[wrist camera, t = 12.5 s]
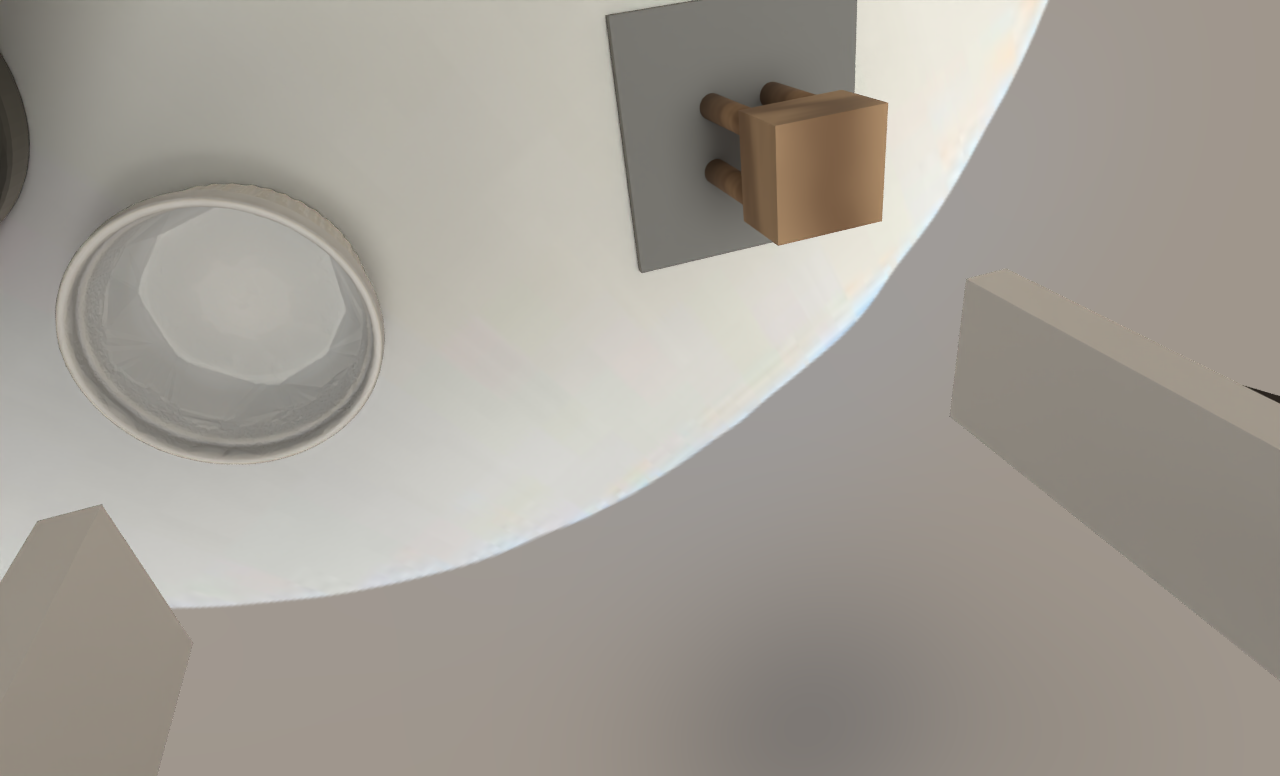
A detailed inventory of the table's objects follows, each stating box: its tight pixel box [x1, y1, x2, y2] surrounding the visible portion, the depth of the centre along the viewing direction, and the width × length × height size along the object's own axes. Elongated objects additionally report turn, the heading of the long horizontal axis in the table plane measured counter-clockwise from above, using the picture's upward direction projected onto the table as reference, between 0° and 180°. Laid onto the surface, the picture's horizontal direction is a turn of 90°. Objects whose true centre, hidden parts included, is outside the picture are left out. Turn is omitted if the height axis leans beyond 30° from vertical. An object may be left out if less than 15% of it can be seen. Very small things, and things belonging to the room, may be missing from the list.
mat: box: [606, 0, 857, 273], centre depth 43 cm, size 14×14×1 cm
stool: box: [700, 82, 888, 246], centre depth 38 cm, size 6×6×10 cm
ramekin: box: [55, 183, 385, 465], centre depth 36 cm, size 13×13×7 cm
